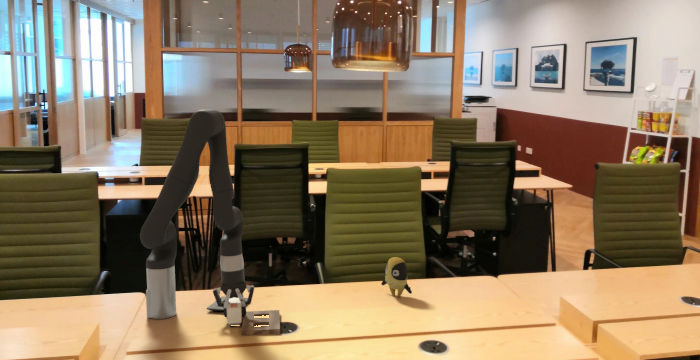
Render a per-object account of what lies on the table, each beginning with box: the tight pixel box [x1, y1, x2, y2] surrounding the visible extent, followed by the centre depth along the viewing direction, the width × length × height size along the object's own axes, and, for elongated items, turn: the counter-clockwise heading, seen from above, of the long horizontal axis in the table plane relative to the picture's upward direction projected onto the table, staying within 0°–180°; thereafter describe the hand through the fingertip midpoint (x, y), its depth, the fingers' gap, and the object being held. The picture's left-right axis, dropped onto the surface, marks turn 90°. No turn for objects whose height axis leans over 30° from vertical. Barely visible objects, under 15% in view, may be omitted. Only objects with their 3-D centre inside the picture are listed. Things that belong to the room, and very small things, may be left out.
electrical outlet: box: [206, 296, 248, 312], centre depth 215 cm, size 13×10×2 cm
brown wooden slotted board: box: [241, 309, 281, 336], centre depth 198 cm, size 12×18×2 cm, turn 7°
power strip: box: [226, 297, 243, 327], centre depth 200 cm, size 4×12×7 cm, turn 7°
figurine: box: [381, 256, 413, 298], centre depth 226 cm, size 8×16×15 cm, turn 42°
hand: (235, 317), depth 200 cm, fingers closed on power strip, 4 cm apart
